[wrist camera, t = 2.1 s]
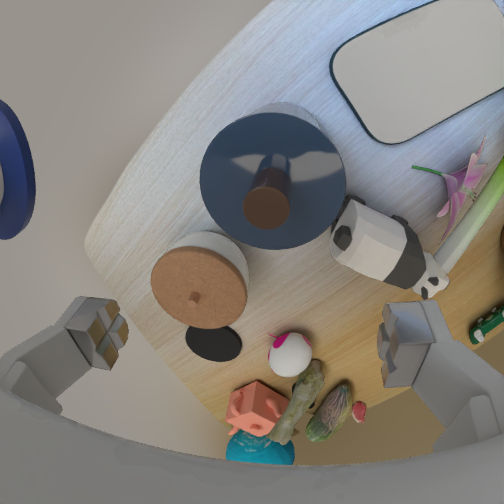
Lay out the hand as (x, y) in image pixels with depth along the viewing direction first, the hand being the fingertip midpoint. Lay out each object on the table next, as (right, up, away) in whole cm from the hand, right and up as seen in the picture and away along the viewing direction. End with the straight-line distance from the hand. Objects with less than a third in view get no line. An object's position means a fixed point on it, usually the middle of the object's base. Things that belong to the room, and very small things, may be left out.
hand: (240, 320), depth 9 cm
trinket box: (-4, +2, +30) cm, 30 cm away
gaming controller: (+39, -9, +29) cm, 50 cm away
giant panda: (+15, +5, +25) cm, 29 cm away
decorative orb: (+3, -50, +48) cm, 69 cm away
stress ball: (+6, -11, +36) cm, 38 cm away
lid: (+2, +6, +10) cm, 12 cm away
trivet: (-6, -12, +39) cm, 41 cm away
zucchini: (+3, -28, +32) cm, 43 cm away
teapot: (+2, -25, +45) cm, 52 cm away
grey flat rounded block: (+19, +22, +13) cm, 32 cm away
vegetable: (+14, -38, +48) cm, 63 cm away
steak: (+24, -31, +45) cm, 60 cm away
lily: (+17, +10, +20) cm, 28 cm away
